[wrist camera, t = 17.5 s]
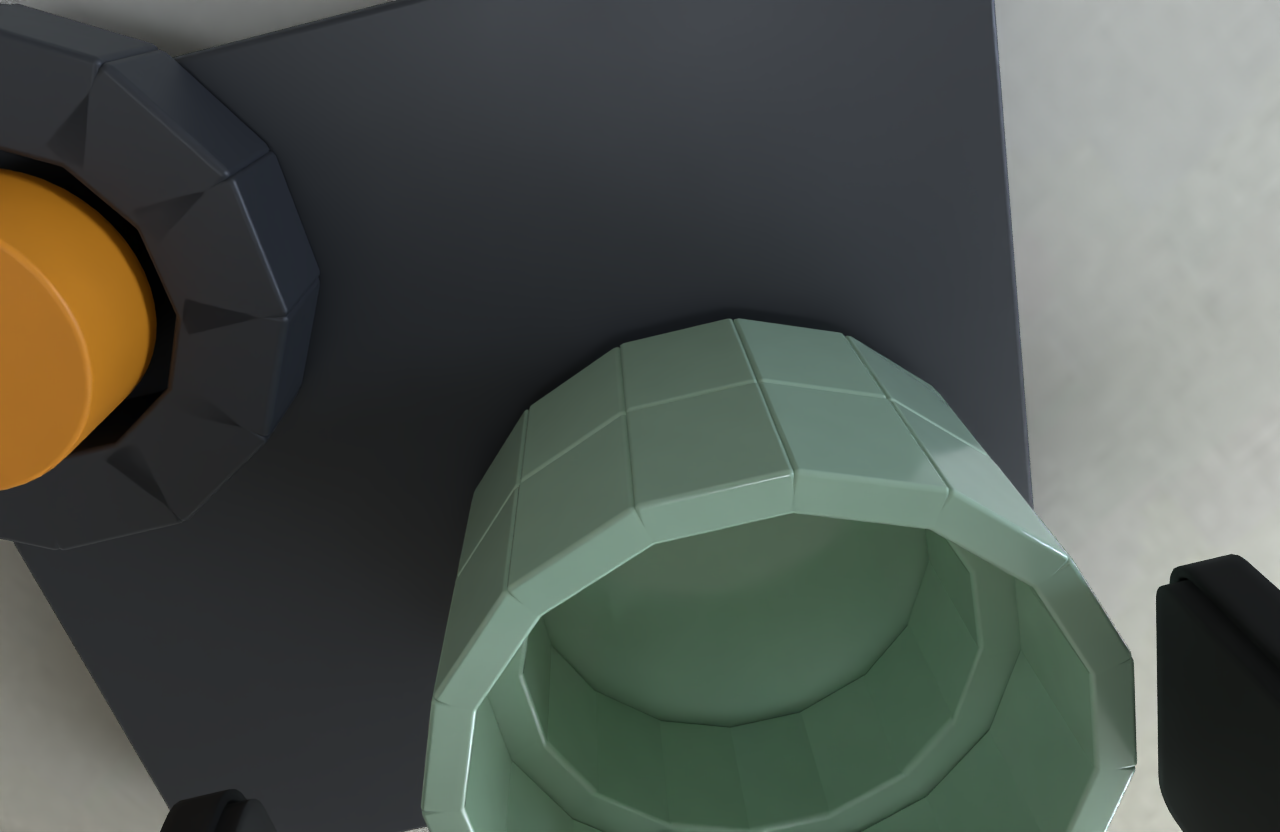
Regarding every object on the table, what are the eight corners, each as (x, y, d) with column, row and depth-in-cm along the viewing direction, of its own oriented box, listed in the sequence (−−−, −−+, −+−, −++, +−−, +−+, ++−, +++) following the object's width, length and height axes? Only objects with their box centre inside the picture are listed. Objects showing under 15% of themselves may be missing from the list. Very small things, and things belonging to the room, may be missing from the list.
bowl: (547, 787, 16) (535, 1075, 12) (399, 380, 13) (315, 579, 9) (997, 690, 16) (1144, 953, 12) (951, 249, 13) (1128, 393, 9)
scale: (207, 816, 18) (142, 970, 15) (-213, 70, 13) (-432, 102, 10) (1015, 640, 17) (1096, 769, 15) (936, -231, 12) (1040, -284, 9)
